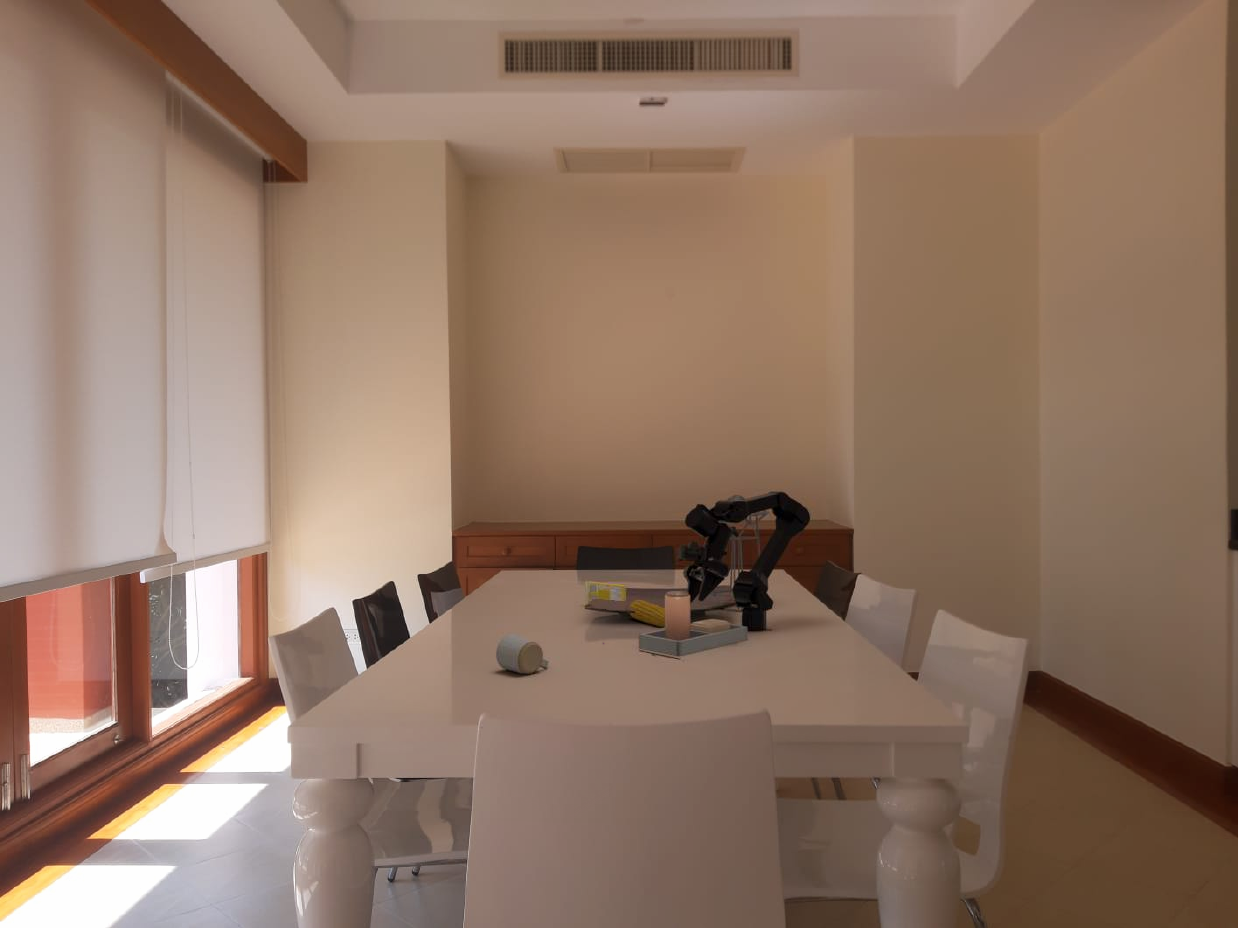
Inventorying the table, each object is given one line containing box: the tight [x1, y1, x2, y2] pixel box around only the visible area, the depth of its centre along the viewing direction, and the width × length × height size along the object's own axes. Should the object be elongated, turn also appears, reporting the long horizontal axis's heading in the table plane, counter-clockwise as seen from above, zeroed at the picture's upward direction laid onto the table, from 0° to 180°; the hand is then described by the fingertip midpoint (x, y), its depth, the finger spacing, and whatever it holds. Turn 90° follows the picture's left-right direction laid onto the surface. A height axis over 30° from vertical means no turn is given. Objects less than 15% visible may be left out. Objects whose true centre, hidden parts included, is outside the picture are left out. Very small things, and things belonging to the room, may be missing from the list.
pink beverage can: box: [664, 590, 691, 641], centre depth 205 cm, size 6×6×13 cm
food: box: [629, 599, 665, 628], centre depth 241 cm, size 21×6×6 cm, turn 29°
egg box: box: [690, 618, 731, 633], centre depth 213 cm, size 8×6×4 cm
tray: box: [638, 622, 749, 661], centre depth 209 cm, size 25×13×4 cm, turn 134°
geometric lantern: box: [708, 494, 771, 612], centre depth 265 cm, size 16×16×35 cm
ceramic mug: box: [495, 633, 549, 675], centre depth 187 cm, size 11×8×8 cm
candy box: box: [584, 580, 627, 606], centre depth 265 cm, size 16×2×8 cm, turn 46°
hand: (693, 602), depth 214 cm, fingers open, 9 cm apart
